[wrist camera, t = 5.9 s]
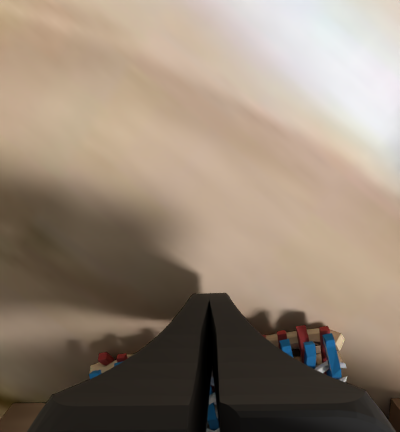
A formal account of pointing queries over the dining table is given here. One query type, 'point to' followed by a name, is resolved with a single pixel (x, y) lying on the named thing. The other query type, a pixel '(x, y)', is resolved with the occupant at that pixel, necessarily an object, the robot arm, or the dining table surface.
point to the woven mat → (285, 341)
